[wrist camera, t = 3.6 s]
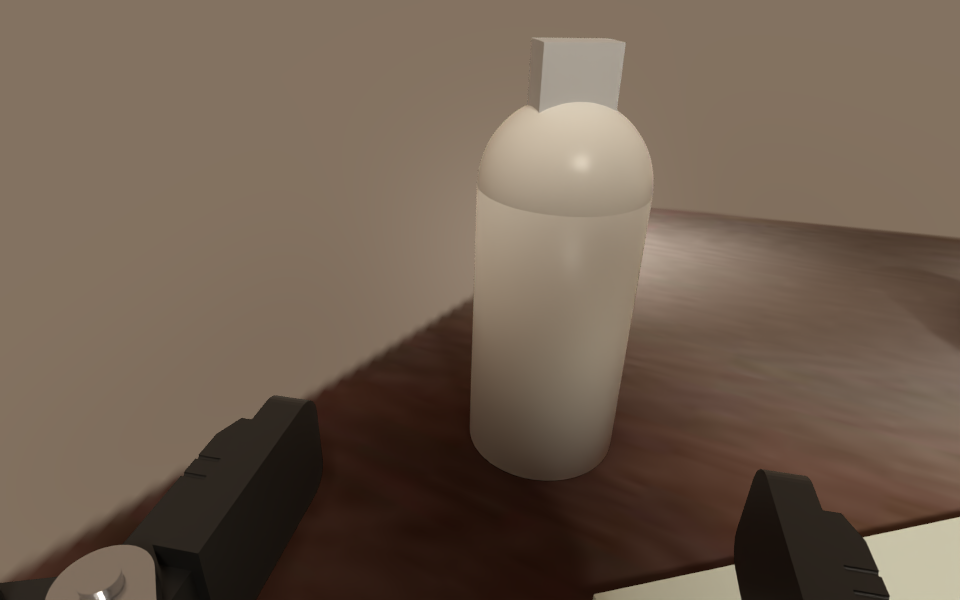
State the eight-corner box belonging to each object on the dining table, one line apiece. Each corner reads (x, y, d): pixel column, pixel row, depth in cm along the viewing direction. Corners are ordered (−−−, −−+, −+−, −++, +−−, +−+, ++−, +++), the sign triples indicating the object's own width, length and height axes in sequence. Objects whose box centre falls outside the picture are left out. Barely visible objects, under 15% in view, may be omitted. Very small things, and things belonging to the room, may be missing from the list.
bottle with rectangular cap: (578, 380, 25) (624, 31, 19) (635, 468, 21) (718, 53, 15) (456, 396, 24) (462, 29, 18) (489, 491, 20) (513, 52, 13)
